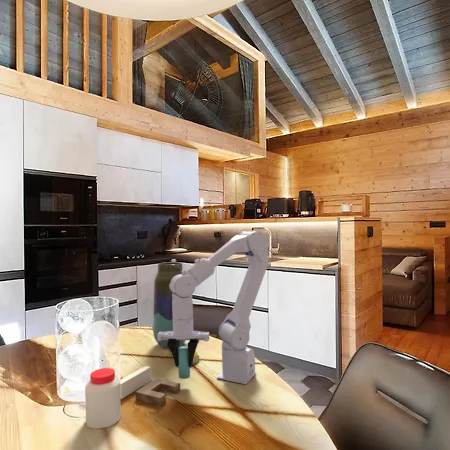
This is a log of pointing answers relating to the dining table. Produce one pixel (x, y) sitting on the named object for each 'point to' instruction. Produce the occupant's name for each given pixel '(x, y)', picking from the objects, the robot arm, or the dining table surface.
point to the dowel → (183, 362)
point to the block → (157, 391)
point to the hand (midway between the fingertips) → (184, 365)
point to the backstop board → (134, 381)
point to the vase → (164, 300)
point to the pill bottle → (102, 399)
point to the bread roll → (195, 358)
